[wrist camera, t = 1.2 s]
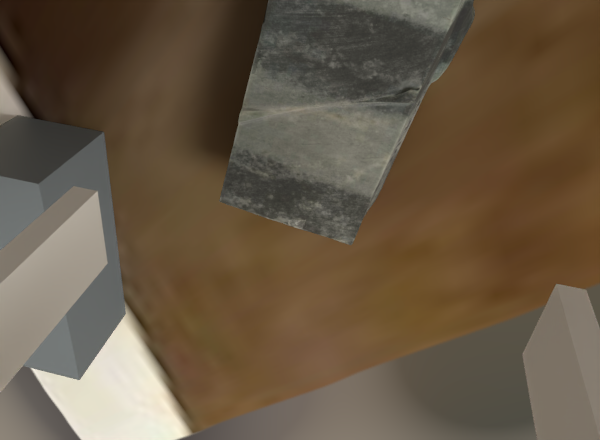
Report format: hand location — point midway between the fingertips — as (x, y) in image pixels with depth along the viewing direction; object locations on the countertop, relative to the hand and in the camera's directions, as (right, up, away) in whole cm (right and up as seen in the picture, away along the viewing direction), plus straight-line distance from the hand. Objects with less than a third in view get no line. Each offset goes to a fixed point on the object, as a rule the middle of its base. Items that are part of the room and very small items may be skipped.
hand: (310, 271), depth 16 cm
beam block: (-16, +1, +24) cm, 29 cm away
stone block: (+3, +9, +14) cm, 17 cm away
